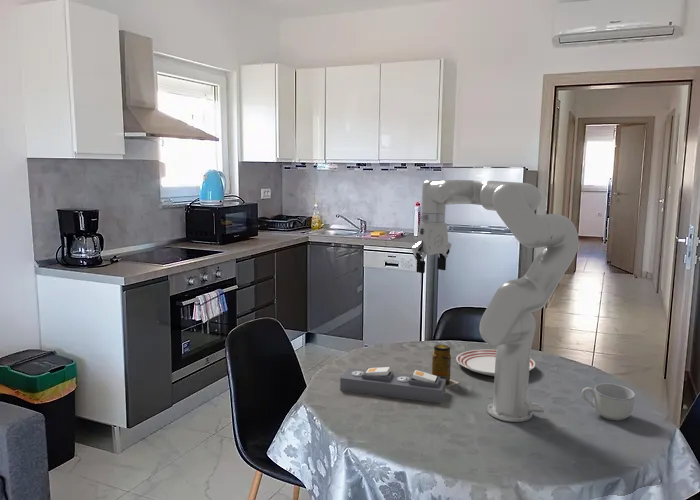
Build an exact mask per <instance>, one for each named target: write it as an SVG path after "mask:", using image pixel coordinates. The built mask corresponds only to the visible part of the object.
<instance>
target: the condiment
mask: <svg viewBox="0 0 700 500" xmlns="http://www.w3.org/2000/svg"><path fill="white" fill-rule="evenodd" d="M451 360H452V355H451V347H450V346H449V345H447V344H443V343H442V344H435V345H434V347H433V354H432V363H431V374H432V375H435V376H437V377H440V378H441V379H446V388H448V387H451V386H455V385H457V384H459V383H460V382H459V381H456V380H453V379H451V362H452V361H451Z"/></svg>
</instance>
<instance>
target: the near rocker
mask: <svg viewBox="0 0 700 500" xmlns="http://www.w3.org/2000/svg"><path fill="white" fill-rule="evenodd" d="M412 374H413V376H412V378H414V379H417V380H420V381H424V382H432V383H435V381H436V379H437V376H435V375H432V373H428V372H424V371H422V370H418V369H415V370H414V371H413V373H412Z"/></svg>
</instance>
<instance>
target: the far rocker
mask: <svg viewBox="0 0 700 500" xmlns="http://www.w3.org/2000/svg"><path fill="white" fill-rule="evenodd" d="M390 371H391V367H390V366H384V367H370V368H368V370H367V371H366V375H373V376H381V375H388V373H389V372H390Z"/></svg>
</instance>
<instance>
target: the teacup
mask: <svg viewBox="0 0 700 500" xmlns="http://www.w3.org/2000/svg"><path fill="white" fill-rule="evenodd" d="M587 392H590V393H591V394H592V398H593V400H591V399H589V398H588V397H587V396H586V393H587ZM581 397H582V399H583V400H584V401H585V402H586V403H587V404H589V405H590V406H591V407H592V408H593V409H595V411H596V412H597V413H598V414H599V415H600V416H601V417H603V418H604V419H607V420H610V421H622V420H625V419H627V418H629V417H630V416H631V415H632V413H633V409H634V405H635V397H636V393H635V391H633V389H630V388H629V387H627V386H624V385H620V384H618V383H617V384H616V383H612V382H611V383H609V382H601V383H598V384H596V385H595V386H594V388H592V387H589V386H587V387H586V386H585V387H584V388H582V390H581Z"/></svg>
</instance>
